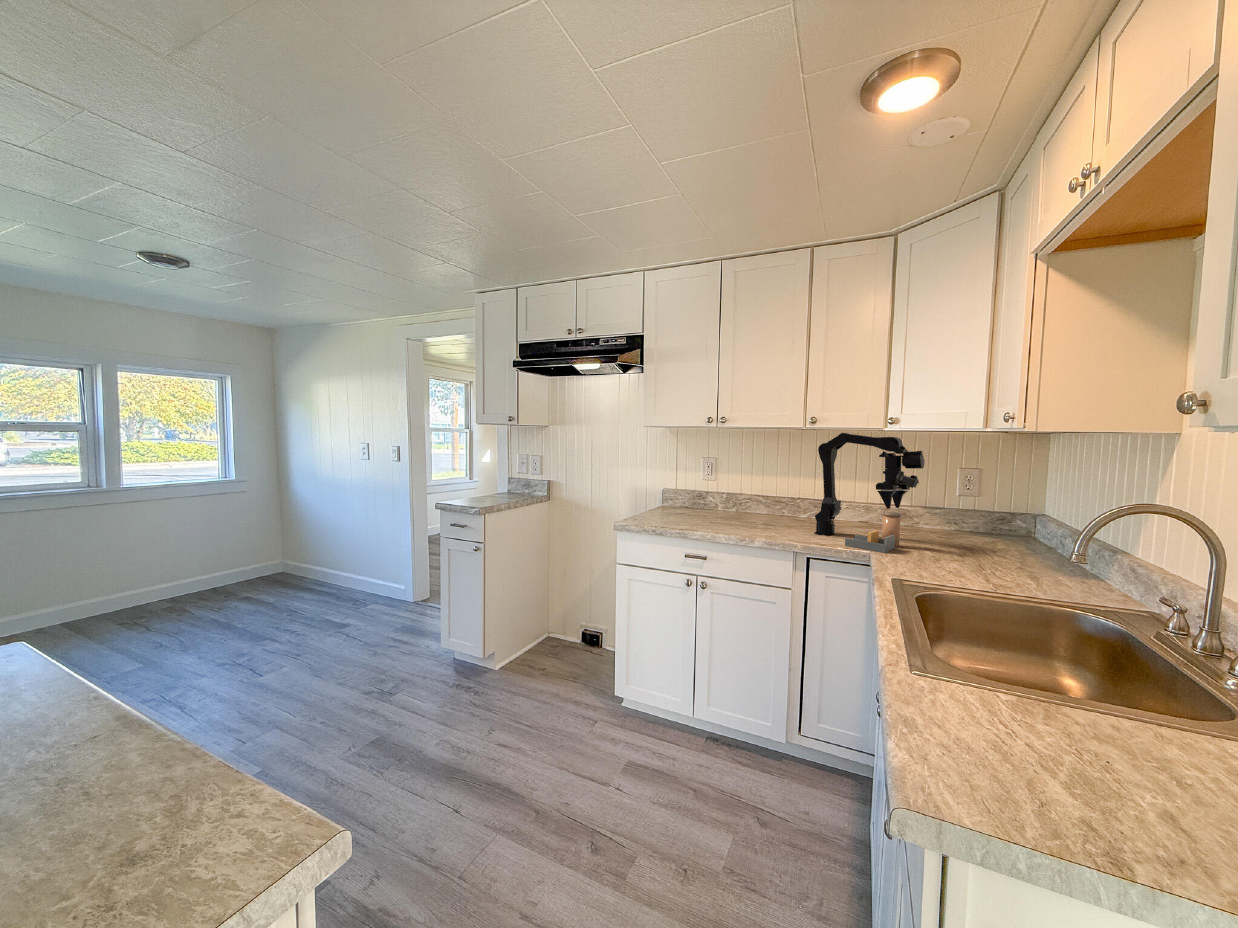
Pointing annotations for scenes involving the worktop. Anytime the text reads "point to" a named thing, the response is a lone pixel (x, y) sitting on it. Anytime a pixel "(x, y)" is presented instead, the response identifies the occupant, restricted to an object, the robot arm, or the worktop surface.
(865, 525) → the worktop surface
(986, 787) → the worktop surface
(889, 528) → the terracotta jar
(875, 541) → the block
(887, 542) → the tray
